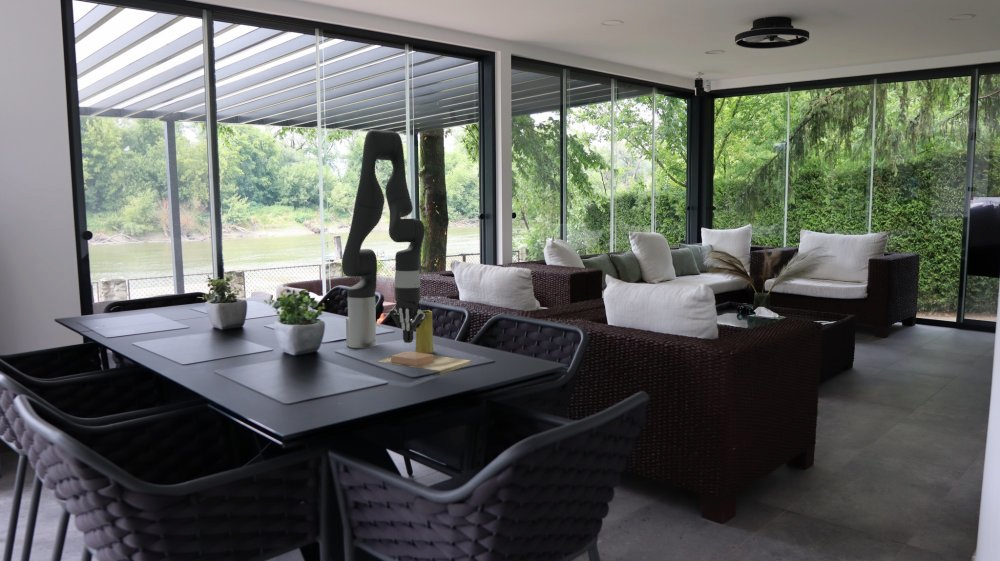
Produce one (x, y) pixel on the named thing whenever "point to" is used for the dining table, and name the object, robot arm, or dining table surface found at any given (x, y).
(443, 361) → the board
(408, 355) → the tile
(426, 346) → the vase
